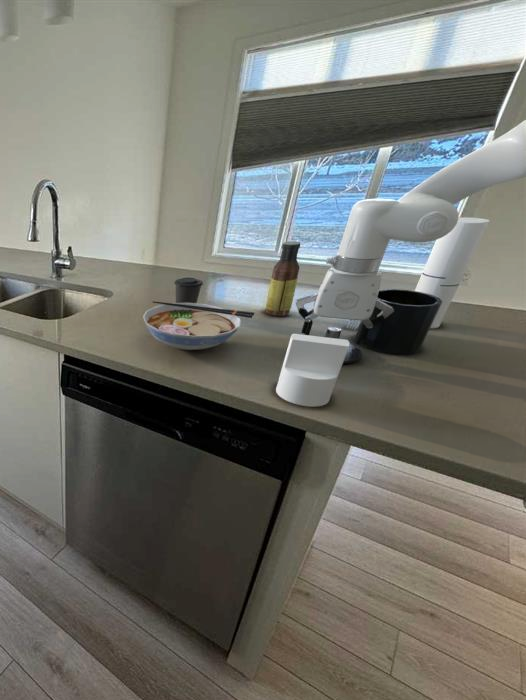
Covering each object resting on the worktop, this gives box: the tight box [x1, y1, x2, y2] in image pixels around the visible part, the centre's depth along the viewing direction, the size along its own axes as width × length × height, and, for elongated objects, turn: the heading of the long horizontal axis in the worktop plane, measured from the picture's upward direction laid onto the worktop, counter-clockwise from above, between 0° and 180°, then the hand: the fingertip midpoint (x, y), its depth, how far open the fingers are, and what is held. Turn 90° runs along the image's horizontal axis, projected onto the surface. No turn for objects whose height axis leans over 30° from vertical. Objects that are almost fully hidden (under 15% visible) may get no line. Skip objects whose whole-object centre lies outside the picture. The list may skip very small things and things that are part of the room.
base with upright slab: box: [275, 333, 351, 408], centre depth 78 cm, size 9×9×12 cm
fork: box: [345, 320, 361, 331], centre depth 110 cm, size 3×21×3 cm, turn 131°
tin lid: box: [324, 326, 364, 364], centre depth 93 cm, size 13×13×6 cm
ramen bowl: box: [142, 300, 255, 351], centre depth 102 cm, size 25×23×8 cm
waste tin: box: [354, 288, 442, 356], centre depth 93 cm, size 12×12×12 cm
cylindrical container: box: [414, 217, 490, 329], centre depth 98 cm, size 7×7×25 cm
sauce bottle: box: [265, 240, 301, 317], centre depth 112 cm, size 7×6×20 cm
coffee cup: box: [173, 277, 204, 303], centre depth 122 cm, size 8×8×10 cm
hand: (330, 339), depth 93 cm, fingers open, 9 cm apart
